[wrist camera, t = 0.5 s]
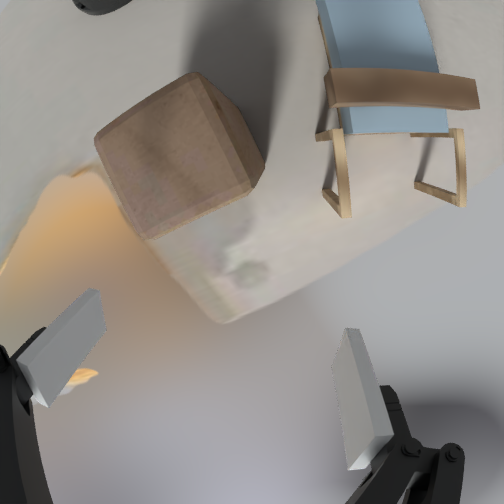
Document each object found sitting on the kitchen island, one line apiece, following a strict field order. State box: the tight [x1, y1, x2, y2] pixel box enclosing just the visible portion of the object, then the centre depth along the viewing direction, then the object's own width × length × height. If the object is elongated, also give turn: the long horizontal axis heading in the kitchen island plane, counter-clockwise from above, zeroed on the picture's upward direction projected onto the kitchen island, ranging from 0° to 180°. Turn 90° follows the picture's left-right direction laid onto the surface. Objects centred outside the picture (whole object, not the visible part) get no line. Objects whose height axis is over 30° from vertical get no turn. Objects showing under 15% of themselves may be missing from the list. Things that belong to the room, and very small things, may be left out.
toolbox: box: [315, 14, 467, 218], centre depth 27 cm, size 26×15×12 cm, turn 9°
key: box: [324, 68, 480, 111], centre depth 20 cm, size 3×15×4 cm, turn 99°
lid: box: [316, 0, 449, 134], centre depth 22 cm, size 18×11×4 cm, turn 9°
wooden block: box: [94, 72, 265, 240], centre depth 28 cm, size 10×10×20 cm
